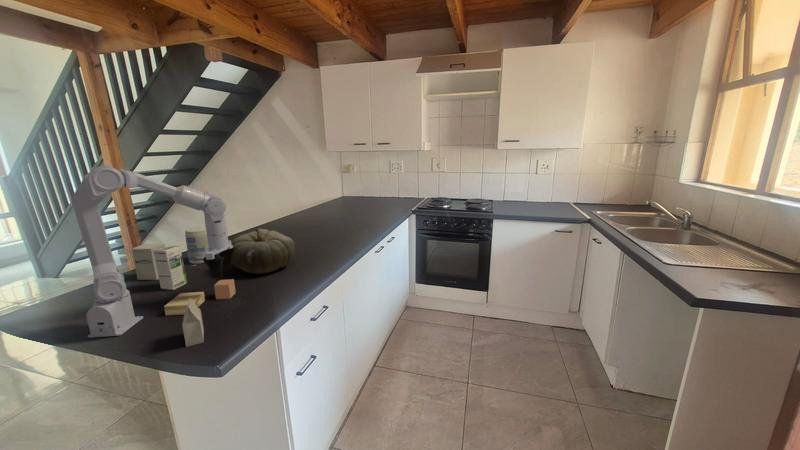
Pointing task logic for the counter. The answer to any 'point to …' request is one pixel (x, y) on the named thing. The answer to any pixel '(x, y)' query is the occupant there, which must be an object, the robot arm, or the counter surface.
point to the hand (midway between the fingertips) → (223, 273)
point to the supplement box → (146, 261)
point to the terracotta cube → (224, 289)
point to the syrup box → (170, 267)
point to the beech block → (183, 302)
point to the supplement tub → (196, 244)
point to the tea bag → (193, 325)
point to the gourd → (262, 251)
